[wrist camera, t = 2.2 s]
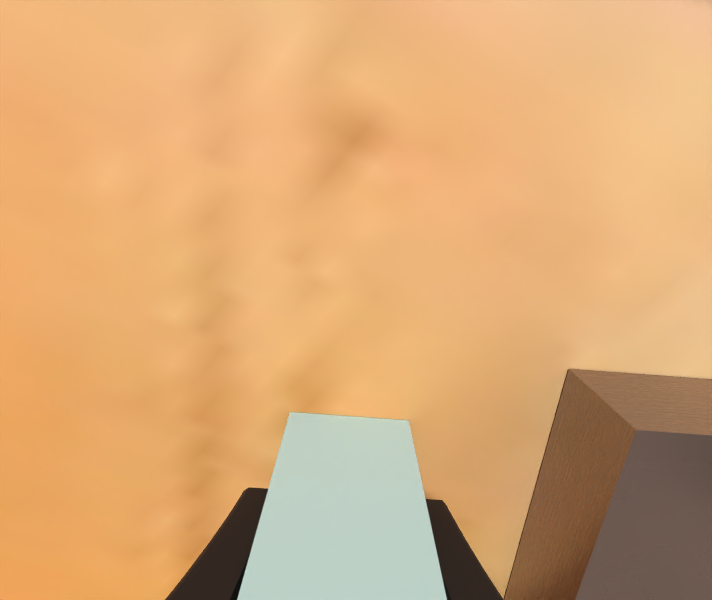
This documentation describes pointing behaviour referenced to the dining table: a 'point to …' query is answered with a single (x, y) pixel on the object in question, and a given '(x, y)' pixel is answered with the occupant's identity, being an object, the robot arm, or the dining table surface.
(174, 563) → the dining table surface
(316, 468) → the plug
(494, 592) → the robot arm
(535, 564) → the port block
